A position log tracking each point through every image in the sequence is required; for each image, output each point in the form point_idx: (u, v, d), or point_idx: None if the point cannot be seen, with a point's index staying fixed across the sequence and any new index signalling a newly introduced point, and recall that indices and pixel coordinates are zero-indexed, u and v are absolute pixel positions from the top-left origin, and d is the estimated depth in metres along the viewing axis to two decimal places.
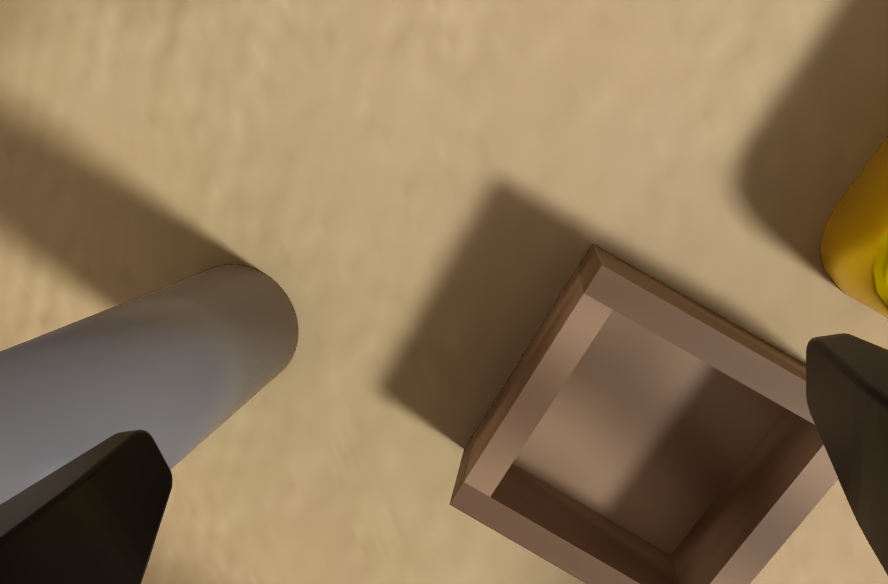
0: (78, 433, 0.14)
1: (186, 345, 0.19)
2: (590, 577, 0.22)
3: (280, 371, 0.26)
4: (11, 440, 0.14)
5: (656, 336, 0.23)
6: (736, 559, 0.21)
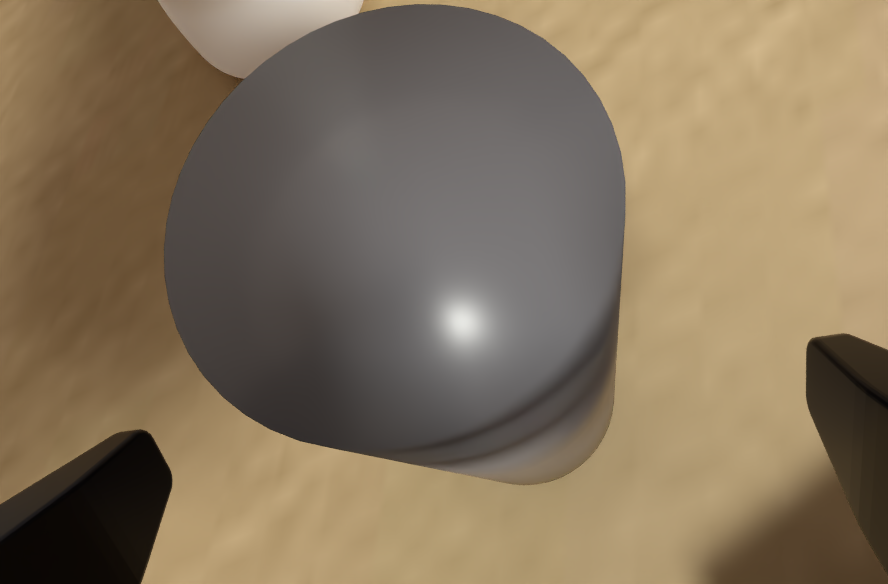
0: None
1: None
2: None
3: (562, 475, 0.17)
4: (515, 135, 0.07)
5: None
6: None
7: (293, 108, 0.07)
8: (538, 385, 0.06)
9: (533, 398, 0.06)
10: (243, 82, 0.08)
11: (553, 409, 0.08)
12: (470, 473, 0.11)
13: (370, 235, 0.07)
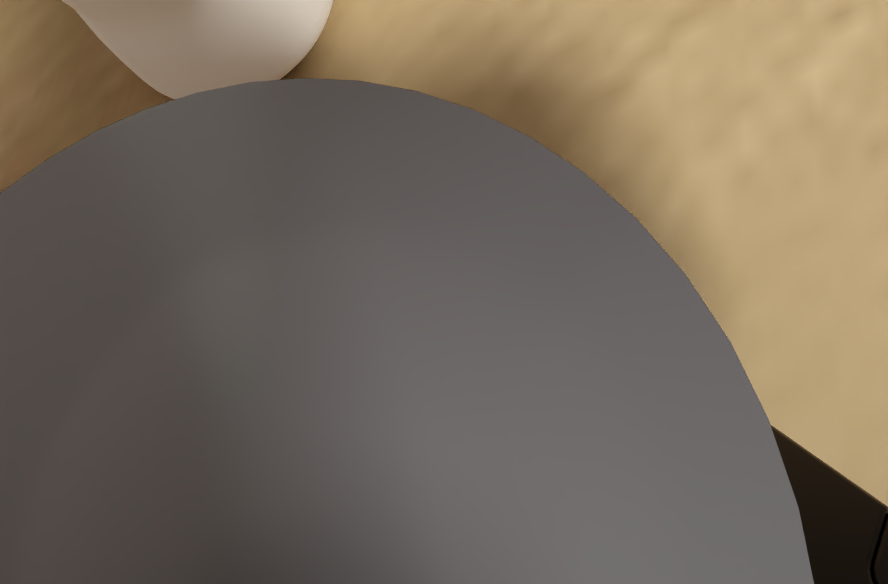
0: None
1: None
2: None
3: None
4: (518, 421, 0.03)
5: None
6: None
7: (44, 302, 0.03)
8: None
9: None
10: None
11: None
12: None
13: None
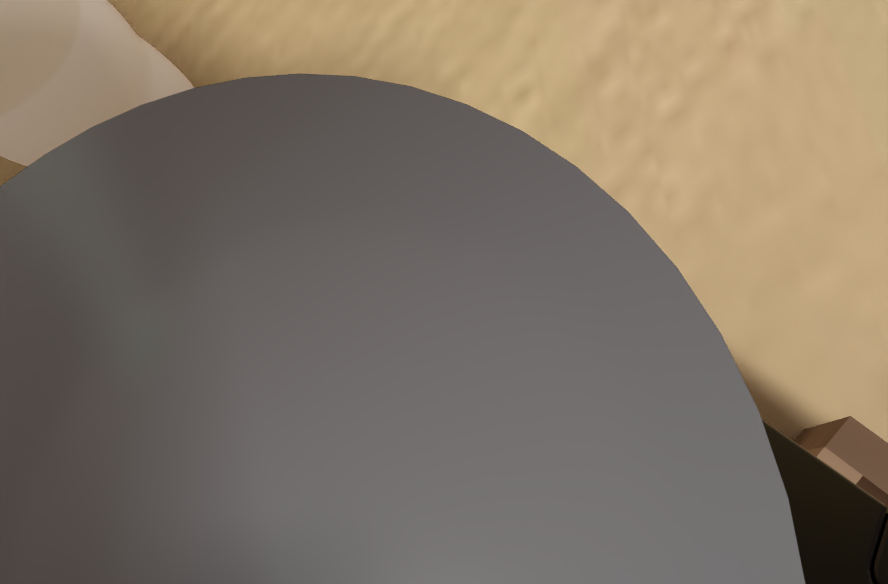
0: None
1: None
2: None
3: None
4: (510, 413, 0.03)
5: None
6: None
7: (40, 296, 0.04)
8: None
9: None
10: None
11: None
12: None
13: None
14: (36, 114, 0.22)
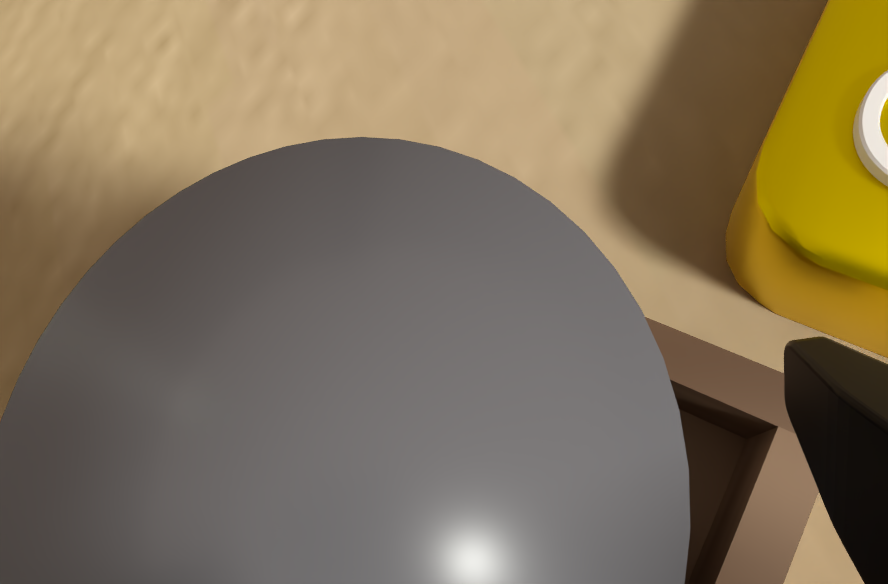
0: None
1: None
2: None
3: None
4: (504, 362, 0.04)
5: None
6: None
7: (180, 291, 0.05)
8: None
9: None
10: (115, 245, 0.05)
11: None
12: None
13: (274, 522, 0.04)
14: None
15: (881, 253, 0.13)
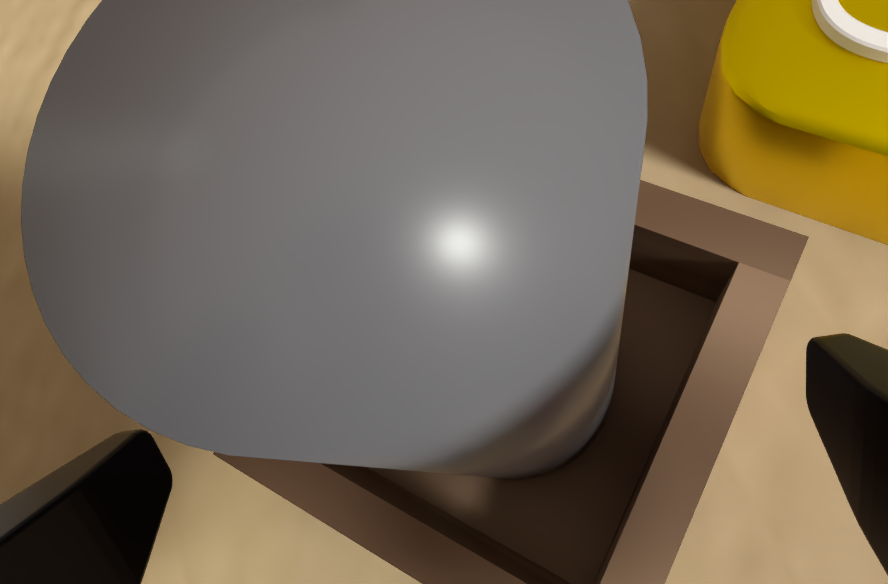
0: None
1: None
2: (418, 564, 0.13)
3: (556, 468, 0.15)
4: (491, 19, 0.05)
5: None
6: (647, 497, 0.12)
7: None
8: (523, 366, 0.04)
9: (517, 384, 0.04)
10: None
11: (545, 398, 0.06)
12: (447, 473, 0.09)
13: (292, 160, 0.05)
14: None
15: (835, 106, 0.14)
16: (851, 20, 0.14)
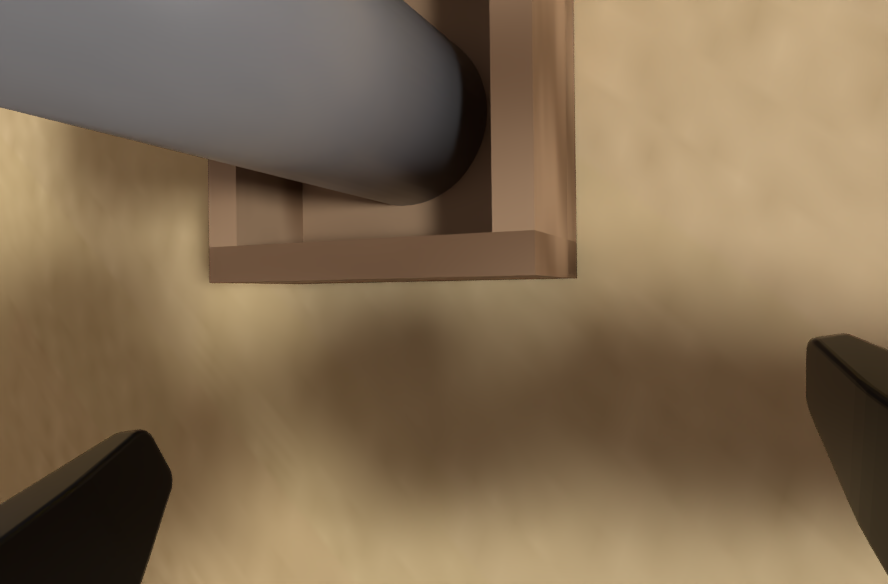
0: None
1: None
2: (370, 267, 0.16)
3: (461, 163, 0.18)
4: None
5: None
6: (497, 122, 0.15)
7: None
8: None
9: None
10: None
11: None
12: (271, 138, 0.12)
13: None
14: None
15: None
16: None
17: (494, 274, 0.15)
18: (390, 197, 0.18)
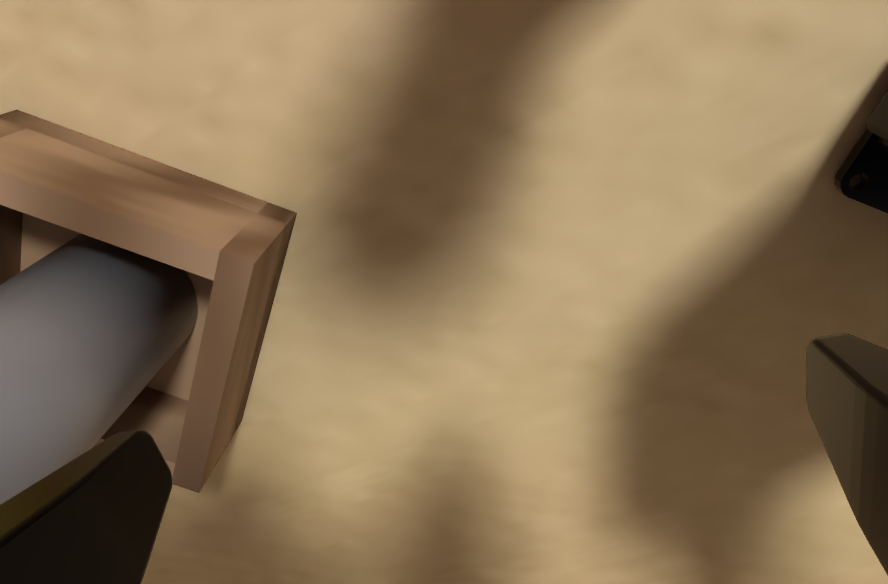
0: None
1: None
2: (218, 374, 0.20)
3: (171, 269, 0.21)
4: None
5: None
6: (130, 245, 0.18)
7: None
8: None
9: None
10: None
11: None
12: (60, 429, 0.16)
13: None
14: None
15: None
16: None
17: (246, 291, 0.19)
18: (177, 335, 0.22)
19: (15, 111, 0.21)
